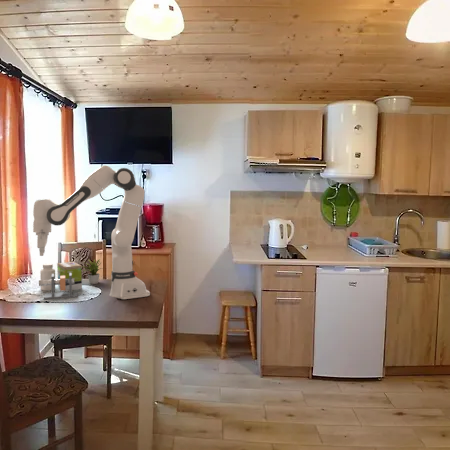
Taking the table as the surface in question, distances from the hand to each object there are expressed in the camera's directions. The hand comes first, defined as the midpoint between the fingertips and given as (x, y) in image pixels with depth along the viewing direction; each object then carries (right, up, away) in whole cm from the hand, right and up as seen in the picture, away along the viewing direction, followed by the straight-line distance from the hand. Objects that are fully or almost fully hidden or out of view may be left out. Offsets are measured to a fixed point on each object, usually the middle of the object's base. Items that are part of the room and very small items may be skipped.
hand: (42, 254), depth 217 cm
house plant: (+16, -21, +36) cm, 45 cm away
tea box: (+6, -22, +24) cm, 33 cm away
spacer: (+9, -20, +6) cm, 22 cm away
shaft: (+6, -17, +4) cm, 19 cm away
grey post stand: (+8, -24, +6) cm, 26 cm away
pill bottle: (-5, -22, +20) cm, 30 cm away
